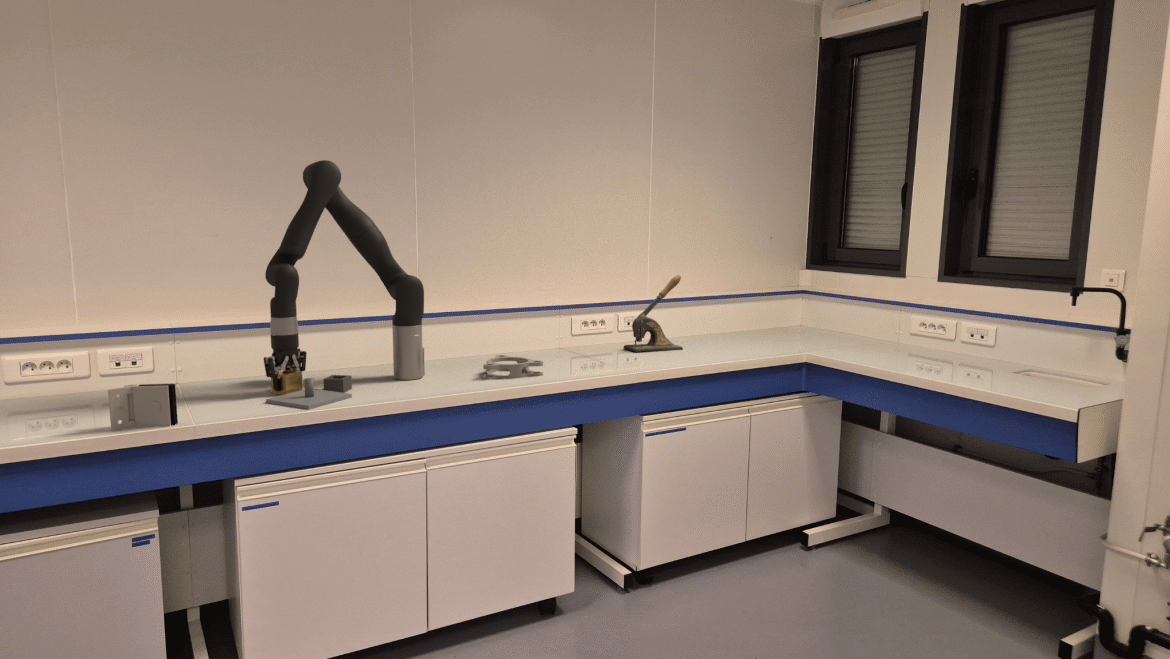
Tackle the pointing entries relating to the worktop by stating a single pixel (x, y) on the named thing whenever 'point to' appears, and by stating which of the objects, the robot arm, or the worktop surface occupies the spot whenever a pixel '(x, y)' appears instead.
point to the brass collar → (289, 382)
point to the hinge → (143, 406)
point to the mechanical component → (511, 367)
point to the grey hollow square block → (338, 383)
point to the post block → (309, 397)
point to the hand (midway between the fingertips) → (287, 388)
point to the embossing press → (652, 326)
